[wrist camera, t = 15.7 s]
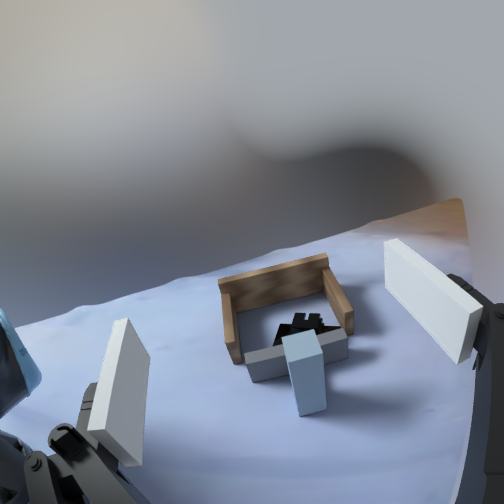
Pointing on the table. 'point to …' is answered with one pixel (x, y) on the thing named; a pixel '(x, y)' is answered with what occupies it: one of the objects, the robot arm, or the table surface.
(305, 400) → the block
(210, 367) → the table surface
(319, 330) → the black angular piece
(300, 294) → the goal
